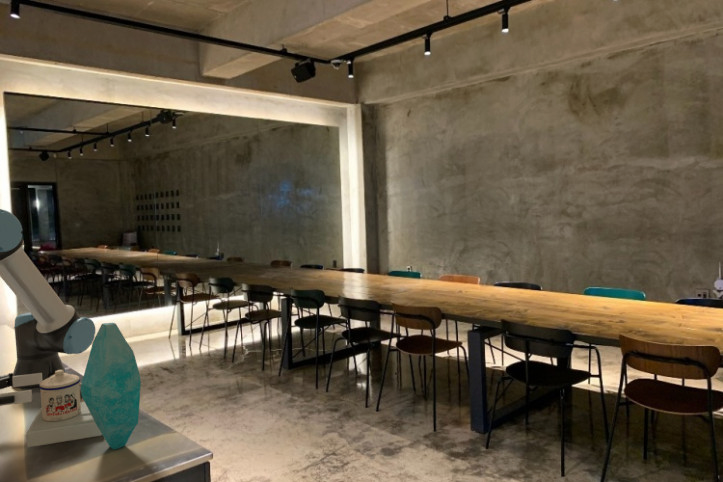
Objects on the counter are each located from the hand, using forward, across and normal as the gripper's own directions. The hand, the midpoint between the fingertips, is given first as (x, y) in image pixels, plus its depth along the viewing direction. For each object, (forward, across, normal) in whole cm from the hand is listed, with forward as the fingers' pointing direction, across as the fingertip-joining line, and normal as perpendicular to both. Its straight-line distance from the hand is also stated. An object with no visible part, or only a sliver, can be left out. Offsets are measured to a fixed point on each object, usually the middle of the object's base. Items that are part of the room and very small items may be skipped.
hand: (37, 386), depth 131 cm
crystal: (+18, +17, -12) cm, 28 cm away
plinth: (+7, 0, -12) cm, 14 cm away
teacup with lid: (+7, 0, -8) cm, 11 cm away
